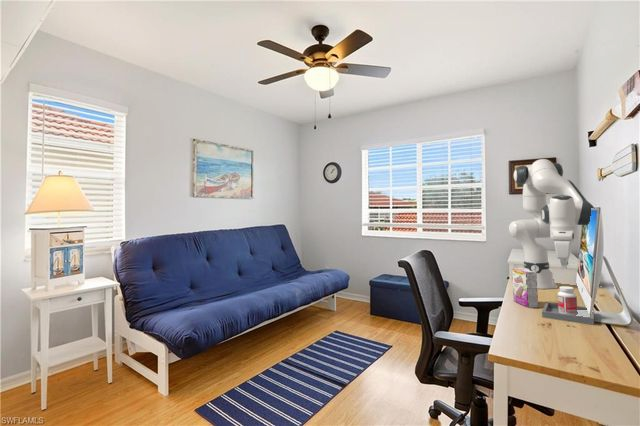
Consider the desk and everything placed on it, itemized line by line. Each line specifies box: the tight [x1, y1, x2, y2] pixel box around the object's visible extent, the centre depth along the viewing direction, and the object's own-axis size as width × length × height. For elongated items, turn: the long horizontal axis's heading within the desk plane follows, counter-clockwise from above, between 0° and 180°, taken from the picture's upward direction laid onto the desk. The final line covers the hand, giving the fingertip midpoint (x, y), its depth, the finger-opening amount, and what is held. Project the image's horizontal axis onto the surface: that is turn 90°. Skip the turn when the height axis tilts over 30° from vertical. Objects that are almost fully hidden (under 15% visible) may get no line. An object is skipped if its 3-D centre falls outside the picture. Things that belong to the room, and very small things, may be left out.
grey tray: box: [541, 301, 595, 326], centre depth 127 cm, size 16×16×2 cm
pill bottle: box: [557, 285, 578, 315], centre depth 127 cm, size 6×6×11 cm
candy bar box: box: [511, 267, 539, 309], centre depth 144 cm, size 11×5×16 cm, turn 179°
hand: (565, 266), depth 127 cm, fingers open, 8 cm apart
